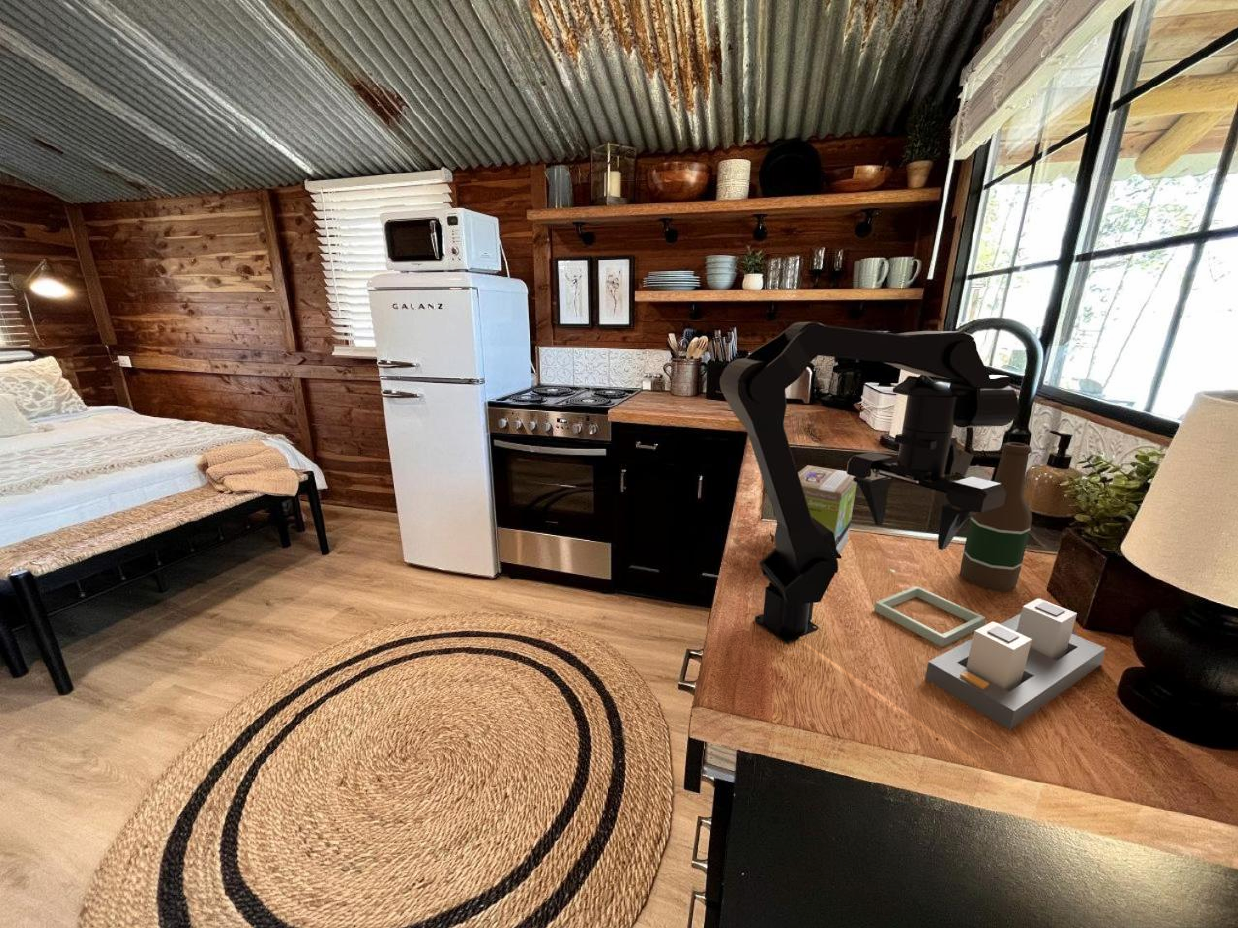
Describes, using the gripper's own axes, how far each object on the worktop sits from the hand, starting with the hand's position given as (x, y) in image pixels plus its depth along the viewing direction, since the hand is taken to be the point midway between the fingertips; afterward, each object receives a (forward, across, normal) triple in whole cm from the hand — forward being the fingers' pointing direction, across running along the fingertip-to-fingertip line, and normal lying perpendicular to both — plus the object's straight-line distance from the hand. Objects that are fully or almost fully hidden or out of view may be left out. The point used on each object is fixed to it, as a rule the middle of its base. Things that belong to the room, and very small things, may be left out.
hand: (908, 536), depth 70 cm
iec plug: (+12, -15, +4) cm, 20 cm away
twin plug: (+12, -15, -6) cm, 21 cm away
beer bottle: (+13, -1, -23) cm, 27 cm away
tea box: (+13, +22, -8) cm, 27 cm away
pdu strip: (+13, -15, -2) cm, 20 cm away
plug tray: (+13, -3, -3) cm, 14 cm away
